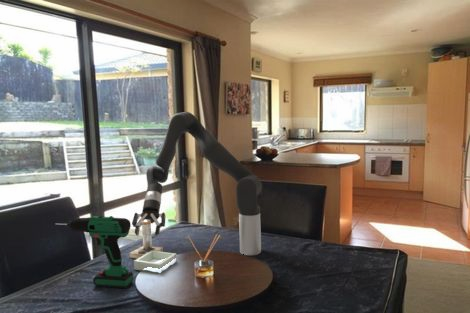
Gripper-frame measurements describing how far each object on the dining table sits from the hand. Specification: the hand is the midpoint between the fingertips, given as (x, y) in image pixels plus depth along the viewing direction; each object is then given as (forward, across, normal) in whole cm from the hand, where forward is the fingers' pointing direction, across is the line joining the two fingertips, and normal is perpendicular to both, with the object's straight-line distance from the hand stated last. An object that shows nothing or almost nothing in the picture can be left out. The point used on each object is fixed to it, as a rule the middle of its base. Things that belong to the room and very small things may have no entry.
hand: (146, 234), depth 160 cm
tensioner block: (+7, 0, +6) cm, 9 cm away
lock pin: (+6, 0, +6) cm, 9 cm away
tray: (+15, +7, -3) cm, 17 cm away
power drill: (+26, -11, -14) cm, 32 cm away
